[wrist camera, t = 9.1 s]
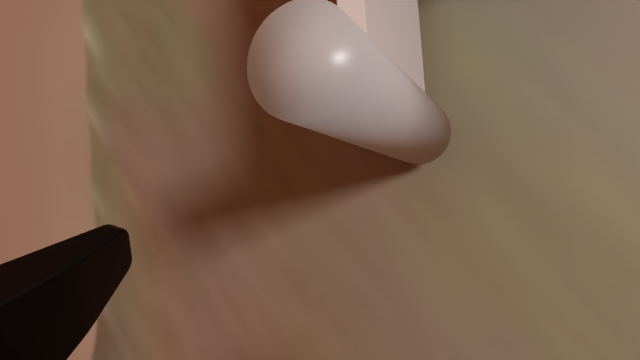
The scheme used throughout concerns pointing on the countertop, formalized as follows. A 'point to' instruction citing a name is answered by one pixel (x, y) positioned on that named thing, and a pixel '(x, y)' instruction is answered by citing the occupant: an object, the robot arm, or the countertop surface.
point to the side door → (349, 75)
